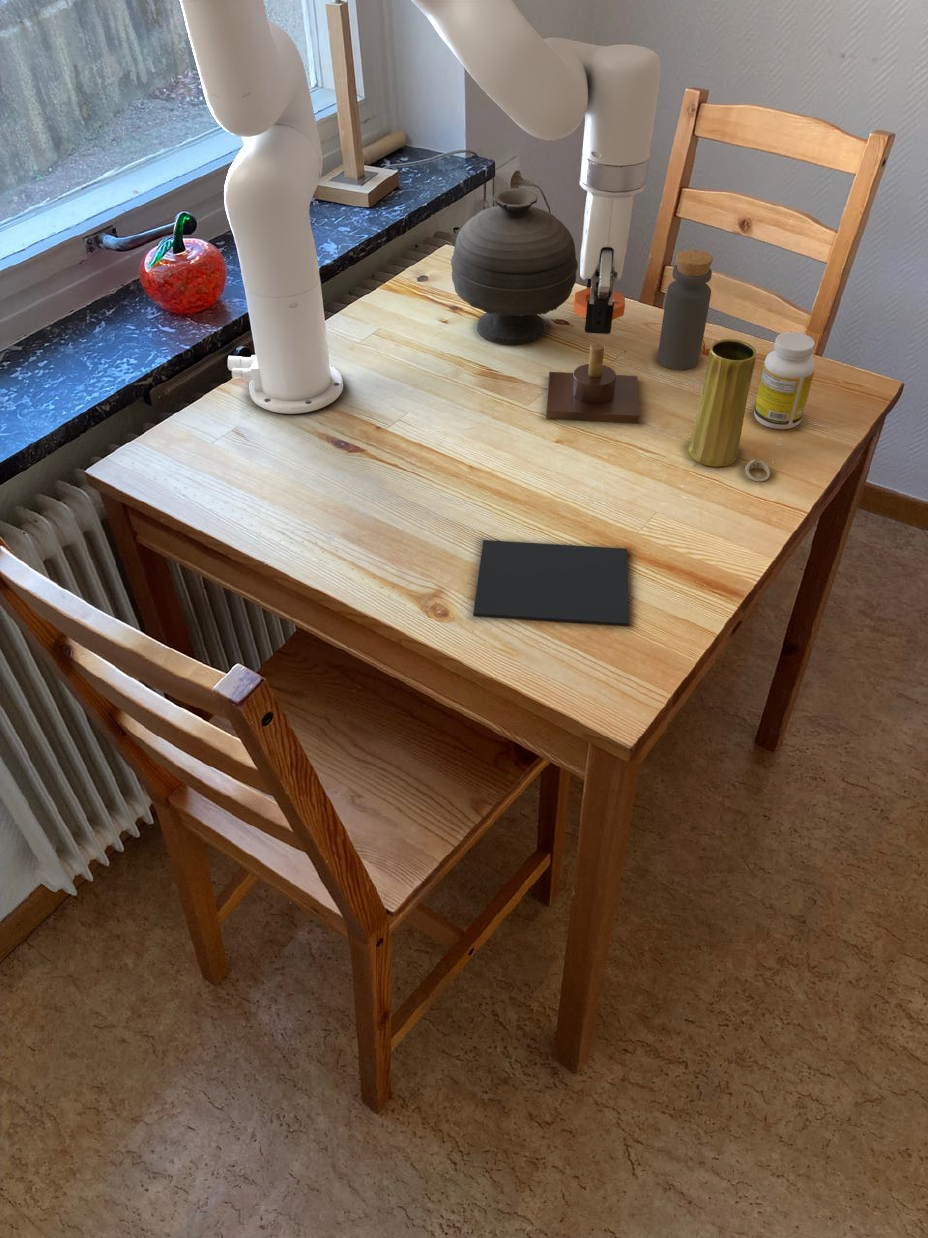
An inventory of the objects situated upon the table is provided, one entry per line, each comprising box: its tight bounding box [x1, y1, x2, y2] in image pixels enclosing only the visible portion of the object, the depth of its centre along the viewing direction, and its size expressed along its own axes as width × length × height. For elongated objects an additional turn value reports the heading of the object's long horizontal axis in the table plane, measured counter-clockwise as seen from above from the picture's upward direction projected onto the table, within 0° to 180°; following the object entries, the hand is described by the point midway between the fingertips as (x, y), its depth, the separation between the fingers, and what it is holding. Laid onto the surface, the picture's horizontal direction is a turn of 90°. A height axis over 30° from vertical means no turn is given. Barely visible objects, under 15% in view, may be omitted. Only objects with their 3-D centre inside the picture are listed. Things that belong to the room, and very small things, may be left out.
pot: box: [450, 187, 579, 346], centre depth 141 cm, size 18×18×20 cm
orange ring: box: [573, 287, 626, 321], centre depth 124 cm, size 6×6×1 cm
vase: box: [687, 338, 757, 468], centre depth 119 cm, size 6×6×14 cm
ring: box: [743, 458, 771, 483], centre depth 121 cm, size 2×3×3 cm
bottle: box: [657, 249, 714, 371], centre depth 136 cm, size 6×6×15 cm
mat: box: [472, 539, 630, 627], centre depth 107 cm, size 16×12×1 cm
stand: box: [545, 342, 640, 424], centre depth 130 cm, size 12×10×8 cm
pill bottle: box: [753, 331, 816, 430], centre depth 126 cm, size 6×6×11 cm
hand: (597, 317), depth 125 cm, fingers closed on orange ring, 6 cm apart
